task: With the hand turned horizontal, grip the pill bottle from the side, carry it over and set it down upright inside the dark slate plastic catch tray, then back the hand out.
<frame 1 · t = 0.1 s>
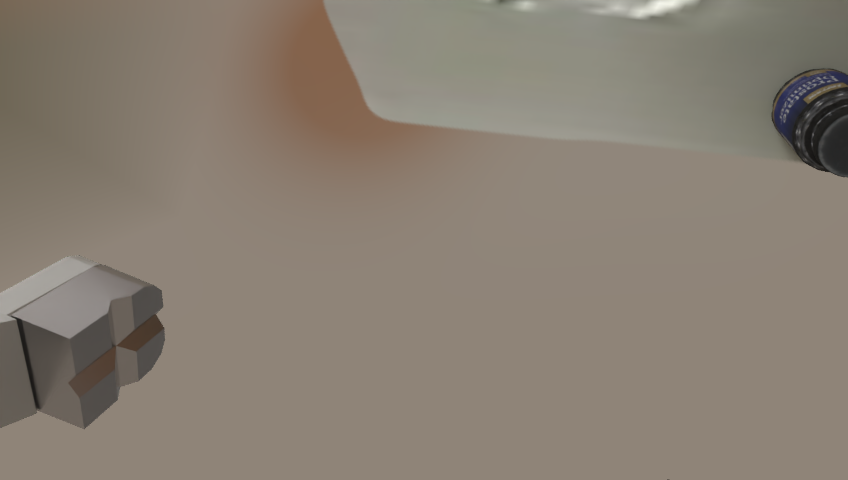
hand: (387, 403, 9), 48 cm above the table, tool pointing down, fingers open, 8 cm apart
pill bottle: (811, 105, 47), on the table
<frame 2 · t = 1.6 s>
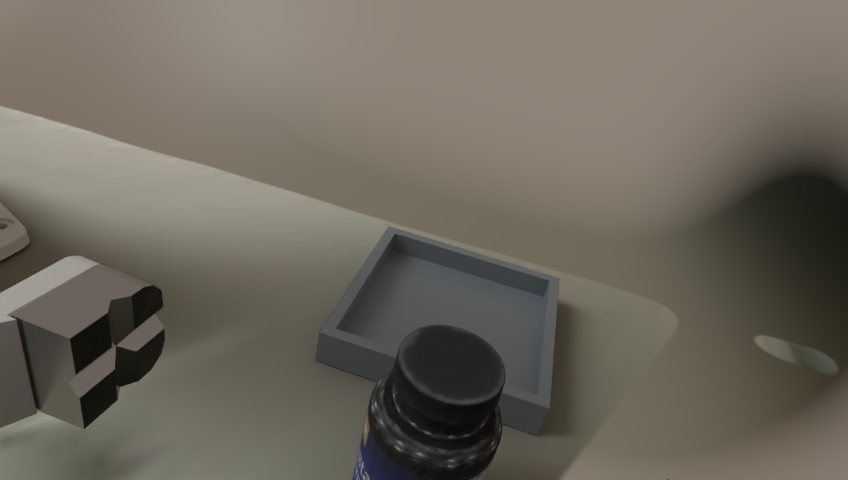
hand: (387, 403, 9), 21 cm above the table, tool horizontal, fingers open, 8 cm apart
catch tray: (447, 327, 43), on the table
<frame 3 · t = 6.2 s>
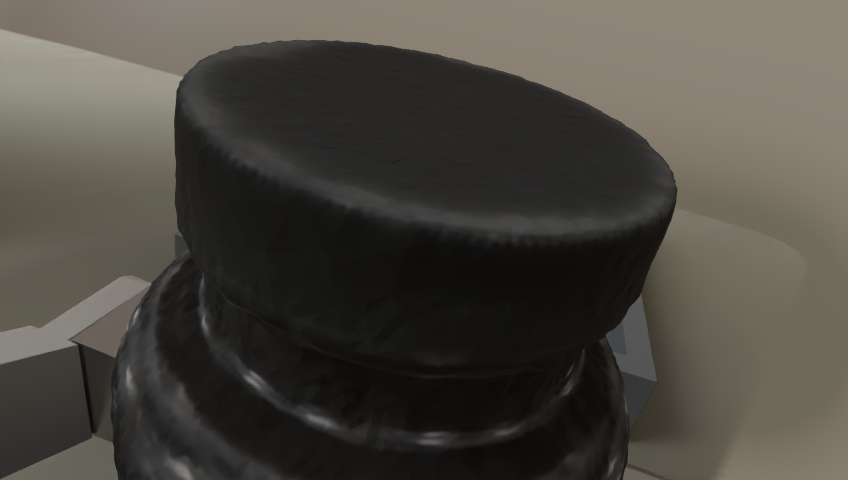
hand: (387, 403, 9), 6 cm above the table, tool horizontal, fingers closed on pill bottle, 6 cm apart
catch tray: (439, 254, 25), on the table
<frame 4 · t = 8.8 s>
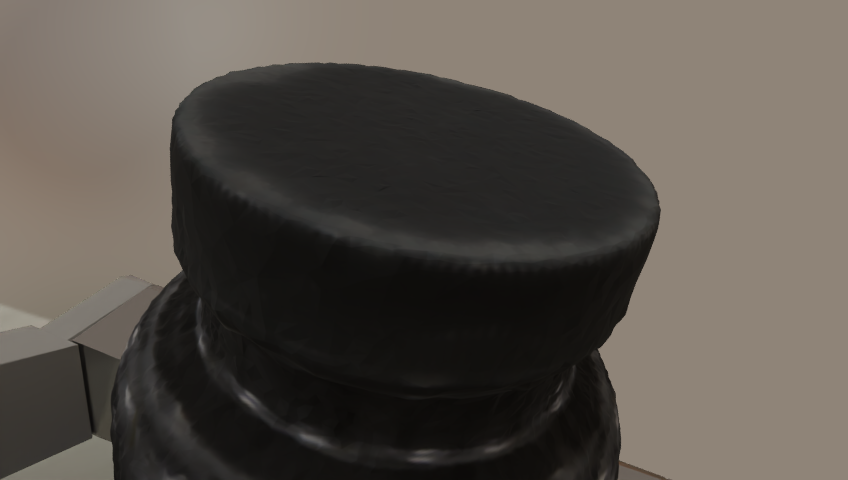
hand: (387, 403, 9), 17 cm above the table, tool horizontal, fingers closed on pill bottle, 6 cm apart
when the fingers open (8 cm above the table, at t = 11.6 s): pill bottle drops 1 cm, resting on catch tray.
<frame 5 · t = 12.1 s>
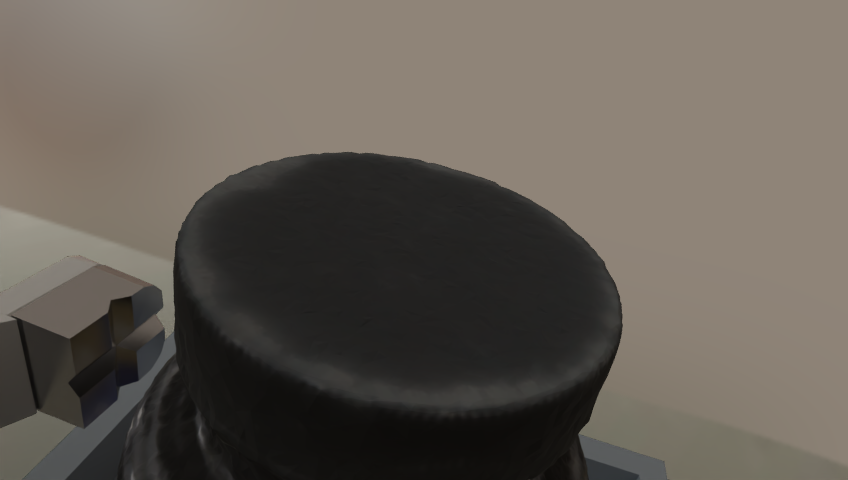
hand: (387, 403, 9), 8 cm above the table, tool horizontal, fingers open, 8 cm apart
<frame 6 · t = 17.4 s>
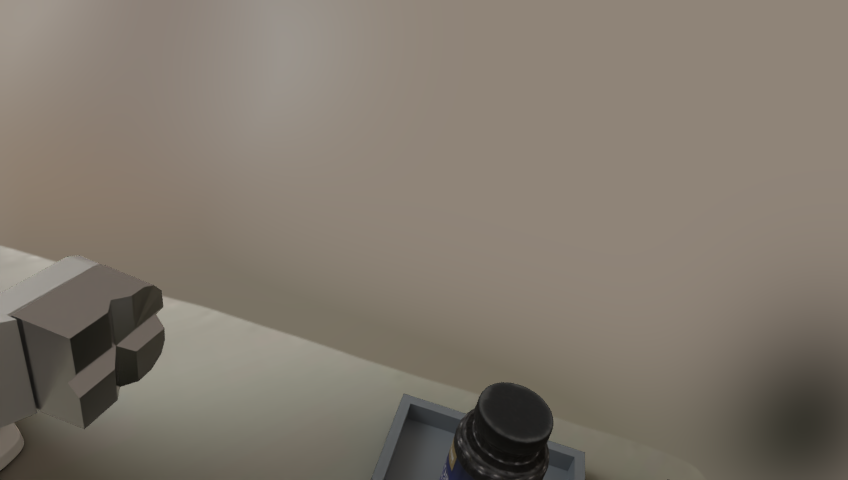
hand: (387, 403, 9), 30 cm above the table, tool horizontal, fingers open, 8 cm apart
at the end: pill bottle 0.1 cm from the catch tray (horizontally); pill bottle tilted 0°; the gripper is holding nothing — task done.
